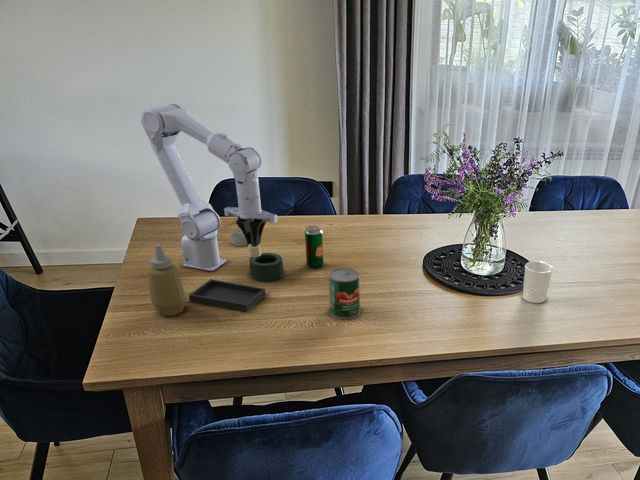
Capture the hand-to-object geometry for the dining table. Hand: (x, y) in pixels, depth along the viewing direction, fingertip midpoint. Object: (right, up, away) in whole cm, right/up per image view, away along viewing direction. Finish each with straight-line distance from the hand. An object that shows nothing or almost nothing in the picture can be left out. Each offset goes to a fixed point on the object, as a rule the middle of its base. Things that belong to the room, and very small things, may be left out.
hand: (253, 243), depth 169 cm
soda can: (+13, -4, +15) cm, 21 cm away
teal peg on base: (0, -3, +2) cm, 3 cm away
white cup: (+79, -15, +9) cm, 81 cm away
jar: (+1, -8, +7) cm, 11 cm away
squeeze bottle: (-16, -20, -14) cm, 29 cm away
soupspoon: (-15, +9, +31) cm, 36 cm away
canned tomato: (+27, -20, -7) cm, 34 cm away
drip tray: (-5, -16, -6) cm, 18 cm away
